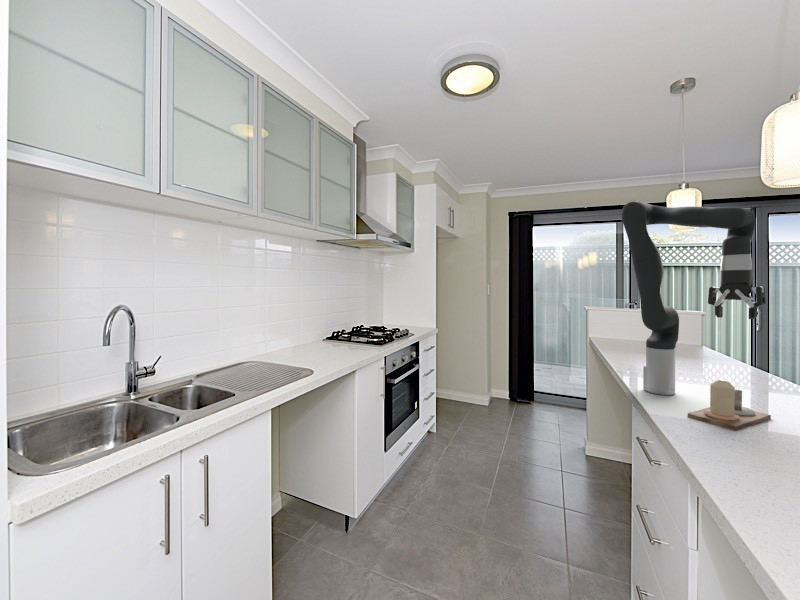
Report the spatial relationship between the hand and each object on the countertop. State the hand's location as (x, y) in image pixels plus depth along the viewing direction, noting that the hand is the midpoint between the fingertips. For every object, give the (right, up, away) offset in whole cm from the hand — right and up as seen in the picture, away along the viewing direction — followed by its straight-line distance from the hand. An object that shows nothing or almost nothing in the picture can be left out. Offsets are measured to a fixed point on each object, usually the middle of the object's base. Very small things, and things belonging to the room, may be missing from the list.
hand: (735, 318), depth 120 cm
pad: (-12, -30, -9) cm, 33 cm away
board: (-9, -31, -7) cm, 33 cm away
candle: (-12, -29, -9) cm, 33 cm away
